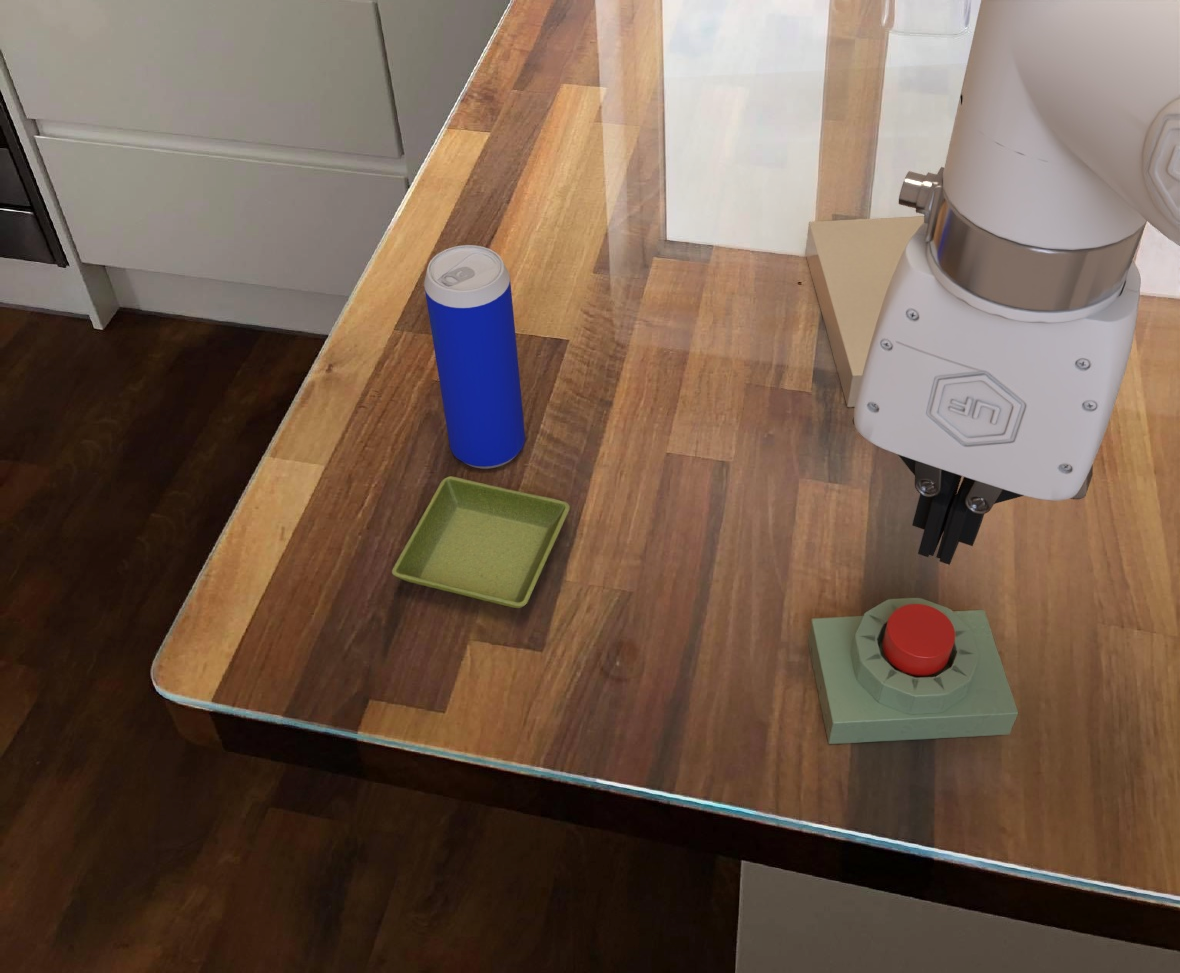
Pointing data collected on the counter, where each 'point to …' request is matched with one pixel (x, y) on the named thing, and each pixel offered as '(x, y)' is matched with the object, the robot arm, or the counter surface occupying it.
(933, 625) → the button
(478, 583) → the green square tray
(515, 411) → the beverage can
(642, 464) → the counter surface
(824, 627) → the green button base
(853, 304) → the panel
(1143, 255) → the counter surface
